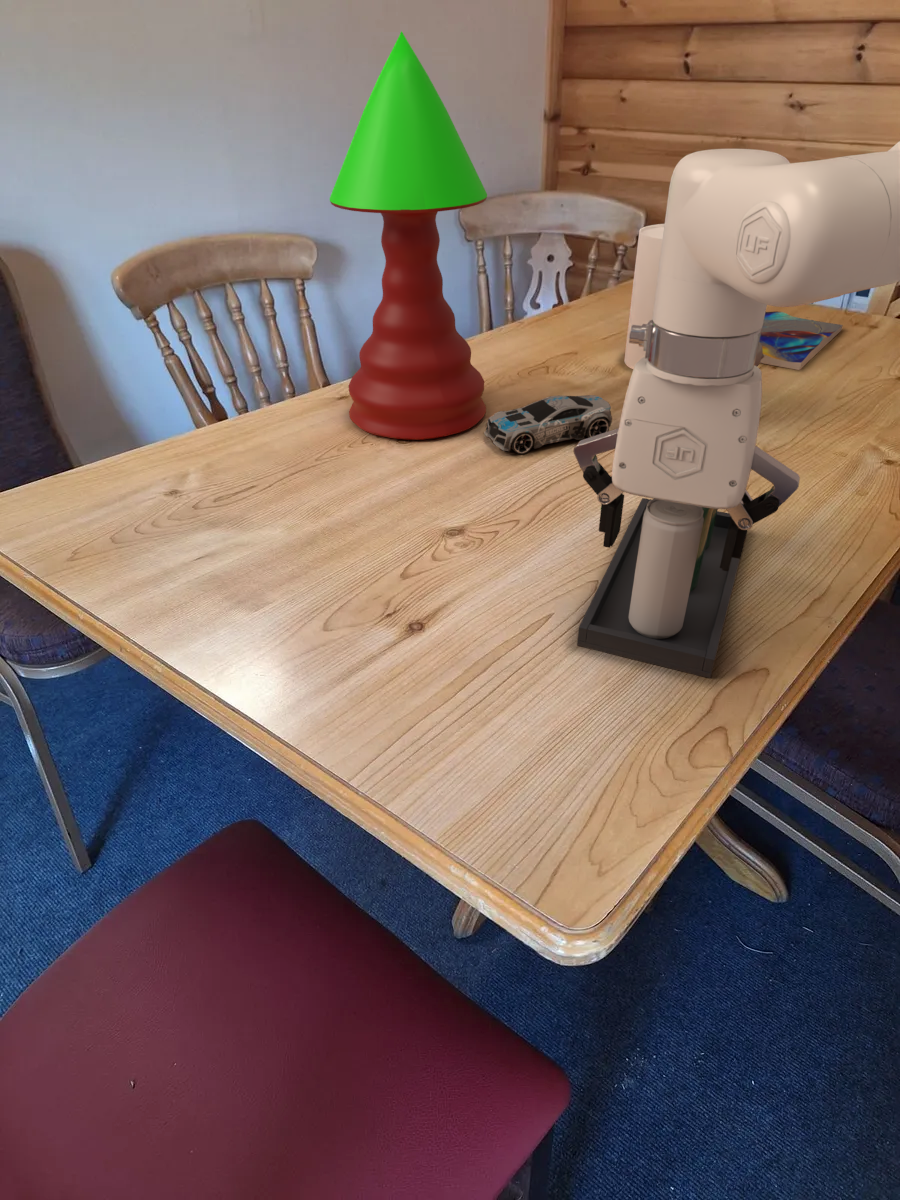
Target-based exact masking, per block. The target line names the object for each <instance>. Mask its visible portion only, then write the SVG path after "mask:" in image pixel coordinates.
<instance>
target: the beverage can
mask: <svg viewBox="0 0 900 1200" xmlns="http://www.w3.org/2000/svg"><path fill="white" fill-rule="evenodd" d="M703 513H704V511H703V509H702V507H699V506H693V505H687V504H682V503H676V502H670V501H664V500H659V499H653V498H651V500H650V501H649V502H648V503H647V507H646V509H645V511H644V515H643V522H642V529H641V535H640V542H639V549H638V556H637V563H636V569H635V576H634V583H633V590H632V597H631V603H630V610H629V622H630V624H631V625H632V627H633V628H634V629H635V630H636V631H637V632H638V633H640V634H641V635H643V636H646V637H649V638H654V639H664V638H669V637H671V636H673V635H675V634H676V633H678V632H679V631H680V630H681V628H682V627H683V622H684V617H685V612H686V607H687V602H688V597H689V592H690V587H691V582H692V577H693V572H694V567H695V562H696V557H697V552H698V547H699V542H700V537H701V532H702V527H703V521H704V518H703Z"/></svg>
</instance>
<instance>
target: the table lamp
mask: <svg viewBox="0 0 900 1200" xmlns="http://www.w3.org/2000/svg"><path fill="white" fill-rule="evenodd" d="M487 198H488V193H487V190H486V188H485V187H484V185H483V183H482V180H481V178H480V177H479V174H478V172H477V171H476V169H475V166H474V164H473V162H472V159H471V158H470V156H469V153H468V152H467V149H466V147H465V145H464V143H463V141H462V139H461V137H460V135H459V133H458V131H457V129H456V126H455V125H454V123H453V120H452V118H451V116H450V114H449V112H448V109H447V107H446V106H445V104H444V103H443V100H442V99H441V97H440V94H439V93H438V91H437V89H436V87H435V86H434V84H433V82H432V80H431V78H430V76H429V75H428V72H427V71H426V70H425V68H424V66H423V64H422V63H421V61H420V59H419V58H418V56H417V54H416V53H415V51H414V49H413V47H412V45H410V43H409V41H408V39H407V38H406V36H405V34H404V33H403V31H402V30H401V31H400V32H399V35H398V37H397V39H396V41H395V43H394V45H393V47H392V49H391V51H390V53H389V55H388V57H387V59H386V61H385V63H384V65H383V67H382V69H381V71H380V73H379V75H378V77H377V79H376V82H375V84H374V86H373V88H372V91H371V93H370V95H369V97H368V100H367V102H366V105H365V107H364V109H363V111H362V115H361V116H360V119H359V122H358V123H357V127H356V130H355V132H354V134H353V136H352V140H351V142H350V145H349V147H348V149H347V152H346V154H345V158H344V160H343V163H342V165H341V168H340V171H339V173H338V175H337V178H336V180H335V183H334V186H333V189H332V190H331V194H330V196H329V202H330V205H332V206H333V207H335V208H338V209H341V210H345V211H346V210H347V211H351V212H359V213H371V214H380V215H381V216H382V220H383V224H382V225H383V227H382V231H381V237H380V244H381V247H382V251H383V254H384V259H385V263H384V269H383V273H382V276H381V289H382V297H381V301H380V303H379V304H378V306H377V307H376V309H375V312H374V313H373V316H372V332H371V335H369V337H368V338H367V339H366V341H364V343H363V344H362V346H361V347H360V350H359V355H358V356H359V363H360V367H359V369H358V370H357V371H356V372H355V373H354V374H353V375H352V377H351V379H350V381H349V383H348V393H349V396H350V398H351V399H352V401H353V402H352V404H351V406H350V408H349V411H348V415H349V418H350V420H351V421H352V423H353V424H354V425H356V426H357V427H358V428H360V429H361V430H363V431H364V432H365V433H366V432H367V433H369V434H371V435H375V436H378V437H382V438H383V437H384V438H390V439H398V440H413V441H414V440H417V441H418V440H430V439H436V438H437V439H438V438H443V437H447V436H451V435H455V434H460V433H463V432H464V431H468V430H469V429H471V428H472V427H474V426H476V425H477V424H478V423H479V422H480V421H481V420H482V419H483V418H484V417H485V415H486V413H487V407H486V404H485V402H484V400H483V398H482V396H483V394H484V391H485V379H484V377H483V376H482V374H481V372H480V371H479V370H478V369H477V368H476V367H475V366H474V365H472V363H471V362H472V361H471V359H472V348H471V347H470V345H469V343H468V342H467V340H466V339H465V338H464V337H463V336H462V335H461V333H459V331H457V328H456V315H455V313H454V311H453V309H452V308H451V305H450V304H449V303H448V302H447V300H446V299H445V296H444V292H443V291H444V290H443V287H444V285H443V284H444V282H443V275H442V272H441V270H440V269H441V268H440V266H439V263H438V253H439V249H440V241H441V240H440V239H441V238H440V233H439V229H438V225H437V214H438V212H447V211H455V210H460V209H461V210H462V209H466V208H470V207H474V206H477V205H478V206H479V205H480V204H482V203H484V202H485V201H486V200H487Z"/></svg>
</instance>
